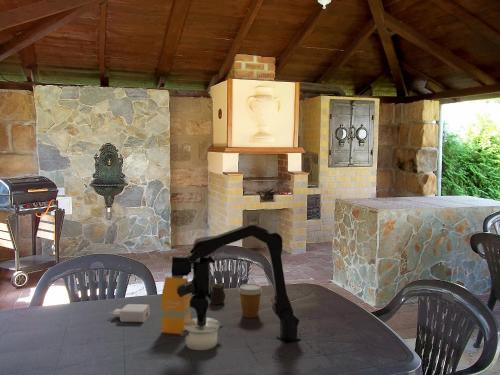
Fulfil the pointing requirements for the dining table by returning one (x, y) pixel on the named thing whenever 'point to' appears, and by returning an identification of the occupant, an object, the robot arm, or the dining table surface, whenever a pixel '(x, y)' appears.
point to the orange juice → (174, 306)
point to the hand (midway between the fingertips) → (201, 318)
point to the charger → (133, 313)
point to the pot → (200, 339)
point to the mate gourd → (217, 294)
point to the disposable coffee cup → (250, 299)
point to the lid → (201, 325)
